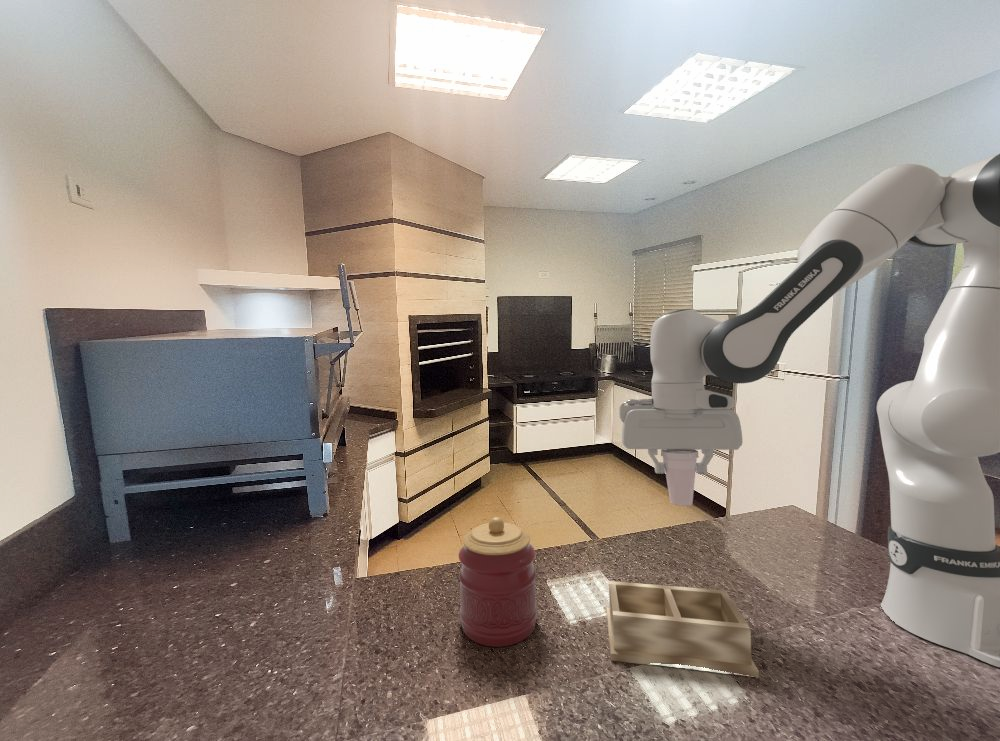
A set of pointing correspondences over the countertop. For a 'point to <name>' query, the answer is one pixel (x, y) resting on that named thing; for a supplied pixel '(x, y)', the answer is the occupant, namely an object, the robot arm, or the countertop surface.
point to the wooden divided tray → (678, 627)
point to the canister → (497, 584)
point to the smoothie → (680, 474)
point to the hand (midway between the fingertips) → (680, 473)
